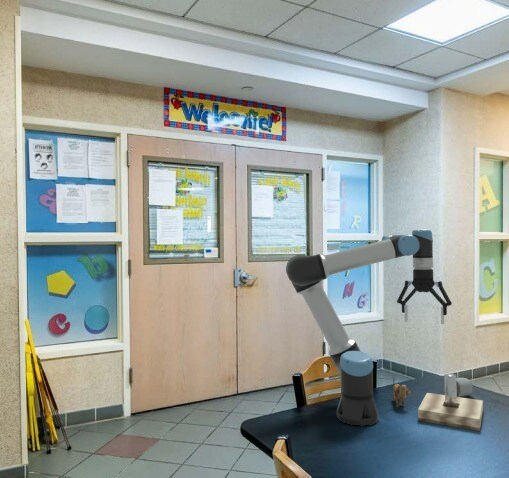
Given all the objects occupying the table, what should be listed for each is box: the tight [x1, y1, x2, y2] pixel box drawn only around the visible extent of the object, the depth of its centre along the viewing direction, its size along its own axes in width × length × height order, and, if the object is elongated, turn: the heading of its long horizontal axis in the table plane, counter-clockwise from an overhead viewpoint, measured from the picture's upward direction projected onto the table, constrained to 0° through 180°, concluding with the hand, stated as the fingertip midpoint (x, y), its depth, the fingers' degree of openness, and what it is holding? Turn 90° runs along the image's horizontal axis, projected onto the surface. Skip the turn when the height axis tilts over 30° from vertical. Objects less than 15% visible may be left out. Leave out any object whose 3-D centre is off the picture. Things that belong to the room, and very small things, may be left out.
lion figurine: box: [391, 383, 412, 408], centre depth 181 cm, size 15×5×9 cm, turn 2°
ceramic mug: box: [456, 377, 474, 398], centre depth 189 cm, size 11×8×8 cm
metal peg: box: [444, 373, 457, 408], centre depth 167 cm, size 4×4×14 cm
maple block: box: [417, 392, 484, 432], centre depth 167 cm, size 20×20×4 cm
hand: (424, 322), depth 178 cm, fingers open, 13 cm apart
